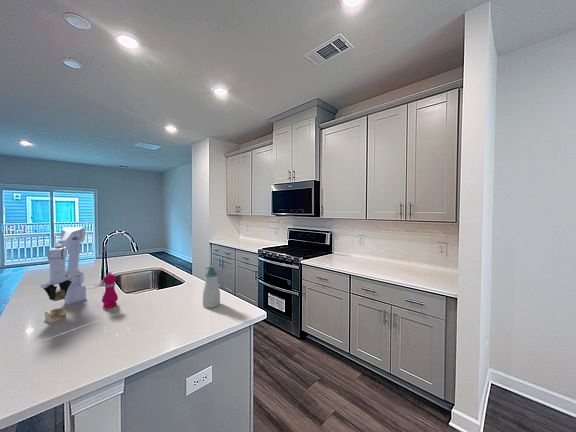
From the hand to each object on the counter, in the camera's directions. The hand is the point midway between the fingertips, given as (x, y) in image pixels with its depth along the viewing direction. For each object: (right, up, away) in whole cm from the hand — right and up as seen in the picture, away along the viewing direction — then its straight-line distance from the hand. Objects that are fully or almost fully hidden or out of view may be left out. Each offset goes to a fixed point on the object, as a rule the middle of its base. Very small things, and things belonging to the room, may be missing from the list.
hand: (58, 297), depth 126 cm
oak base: (+2, -9, -3) cm, 10 cm away
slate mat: (0, -10, +1) cm, 10 cm away
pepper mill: (+18, -10, +12) cm, 24 cm away
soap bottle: (+74, -11, +18) cm, 76 cm away
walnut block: (0, -1, 0) cm, 1 cm away
